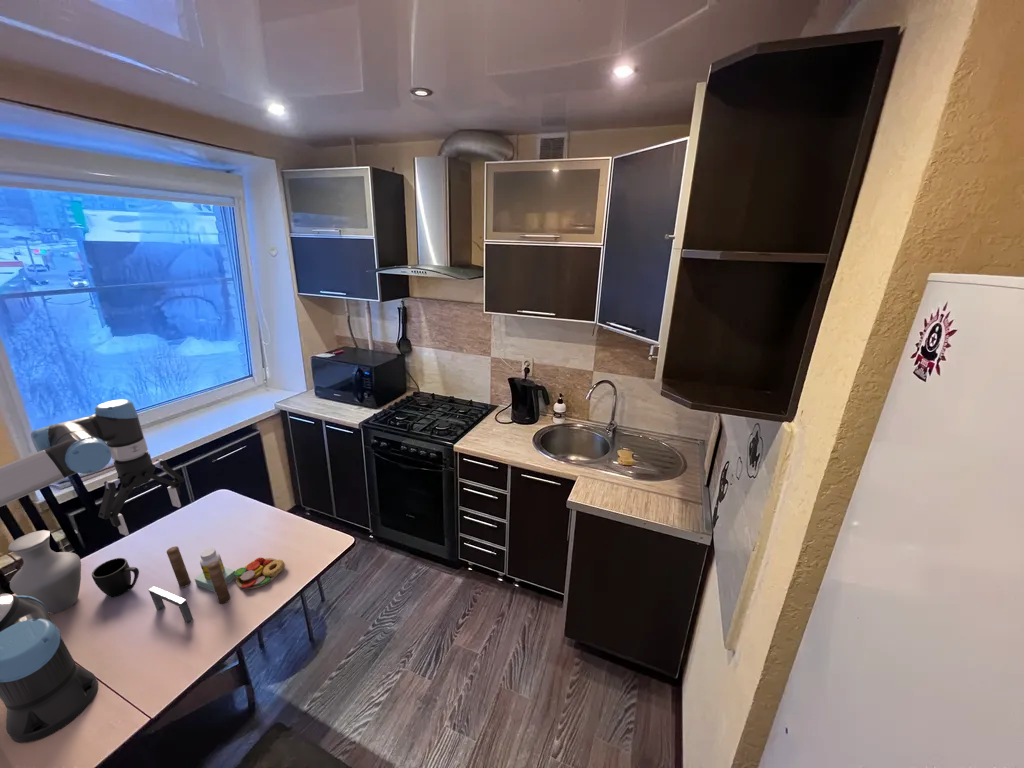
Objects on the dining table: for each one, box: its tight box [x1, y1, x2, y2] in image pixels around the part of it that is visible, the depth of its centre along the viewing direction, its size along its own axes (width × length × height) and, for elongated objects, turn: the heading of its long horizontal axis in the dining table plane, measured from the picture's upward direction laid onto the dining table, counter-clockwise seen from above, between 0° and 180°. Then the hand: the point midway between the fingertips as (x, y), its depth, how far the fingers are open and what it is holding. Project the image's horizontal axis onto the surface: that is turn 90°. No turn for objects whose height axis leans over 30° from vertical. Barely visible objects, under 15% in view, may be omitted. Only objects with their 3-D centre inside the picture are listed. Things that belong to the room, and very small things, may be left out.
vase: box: [7, 529, 82, 614], centre depth 125 cm, size 14×14×25 cm
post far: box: [166, 546, 192, 588], centre depth 134 cm, size 3×3×14 cm
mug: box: [91, 557, 140, 598], centre depth 133 cm, size 8×12×10 cm
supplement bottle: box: [199, 547, 225, 581], centre depth 135 cm, size 5×5×10 cm
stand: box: [194, 566, 237, 593], centre depth 138 cm, size 7×9×2 cm
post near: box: [207, 561, 231, 605], centre depth 129 cm, size 3×3×14 cm
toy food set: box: [234, 557, 286, 590], centre depth 140 cm, size 13×13×3 cm
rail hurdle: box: [148, 585, 194, 625], centre depth 125 cm, size 2×14×8 cm, turn 70°
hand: (152, 519), depth 122 cm, fingers open, 13 cm apart
